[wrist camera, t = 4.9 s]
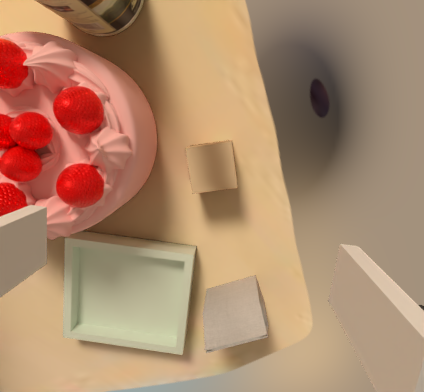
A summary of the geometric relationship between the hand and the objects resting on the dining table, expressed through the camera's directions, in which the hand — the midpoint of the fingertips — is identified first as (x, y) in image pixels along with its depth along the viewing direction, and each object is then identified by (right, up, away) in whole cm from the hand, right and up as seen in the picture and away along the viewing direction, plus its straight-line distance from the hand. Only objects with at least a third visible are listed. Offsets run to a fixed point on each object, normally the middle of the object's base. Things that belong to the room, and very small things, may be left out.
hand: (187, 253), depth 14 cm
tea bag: (+4, -10, +29) cm, 31 cm away
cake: (-15, +10, +26) cm, 32 cm away
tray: (-10, -10, +30) cm, 33 cm away
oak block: (+1, +7, +25) cm, 26 cm away
